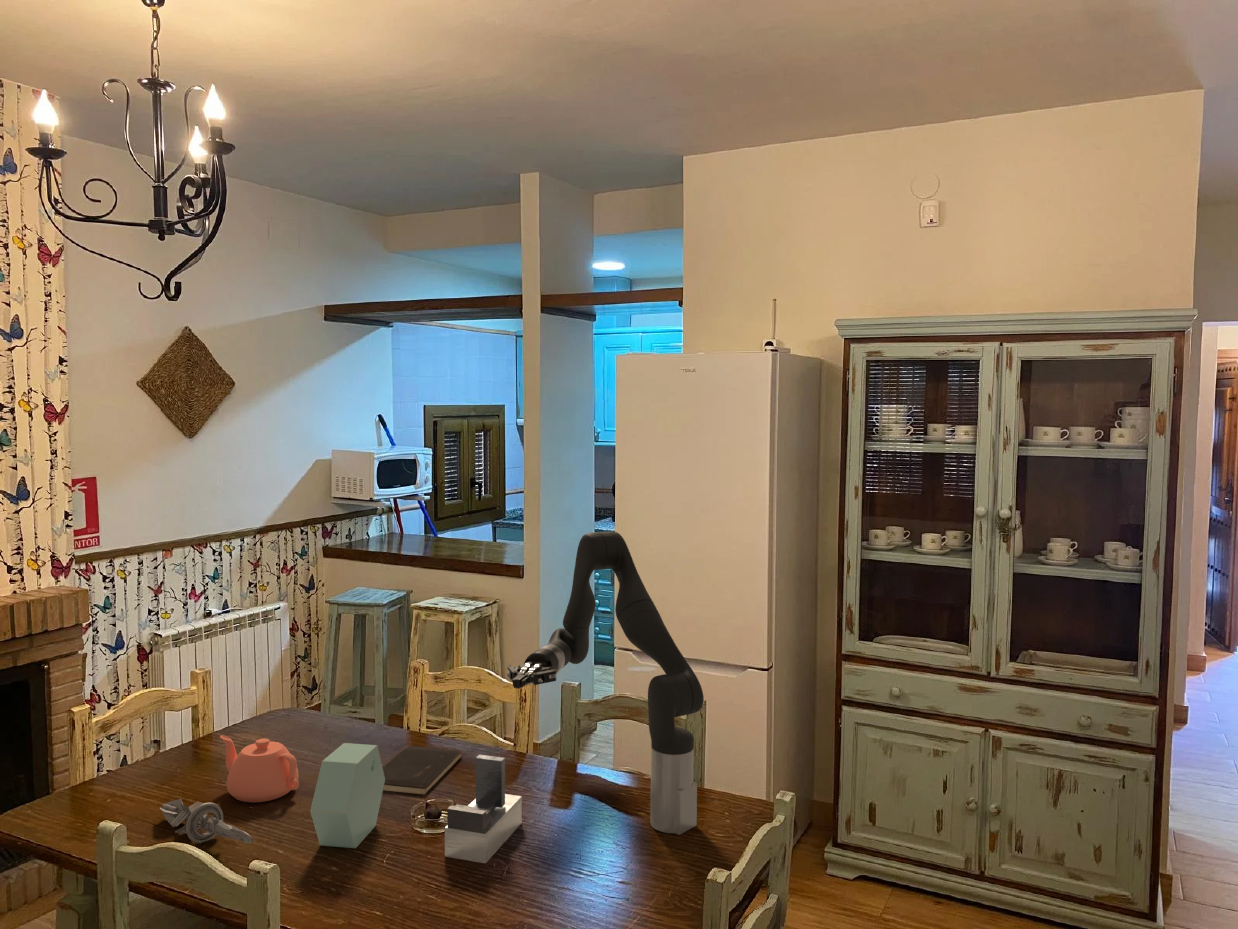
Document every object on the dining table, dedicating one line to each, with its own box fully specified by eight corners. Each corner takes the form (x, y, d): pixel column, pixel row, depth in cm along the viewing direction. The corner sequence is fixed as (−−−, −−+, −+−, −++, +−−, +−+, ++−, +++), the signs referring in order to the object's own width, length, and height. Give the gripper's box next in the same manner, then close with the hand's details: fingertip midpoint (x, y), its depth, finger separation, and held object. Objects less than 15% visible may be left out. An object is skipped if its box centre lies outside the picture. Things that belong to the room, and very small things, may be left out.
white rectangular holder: (483, 817, 197) (483, 773, 196) (521, 823, 194) (521, 778, 194) (444, 856, 180) (444, 808, 179) (485, 863, 177) (485, 814, 177)
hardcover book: (462, 759, 231) (462, 750, 230) (425, 797, 208) (425, 787, 208) (404, 754, 234) (404, 745, 234) (362, 790, 211) (362, 781, 211)
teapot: (197, 798, 205) (195, 745, 205) (246, 772, 220) (245, 722, 219) (275, 813, 198) (274, 758, 197) (320, 785, 213) (319, 734, 212)
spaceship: (226, 838, 170) (260, 809, 176) (138, 807, 191) (171, 781, 197) (244, 870, 173) (277, 840, 179) (155, 836, 194) (187, 810, 200)
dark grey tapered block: (479, 800, 191) (479, 754, 190) (505, 804, 189) (505, 758, 189) (455, 822, 181) (455, 774, 180) (482, 827, 179) (482, 778, 178)
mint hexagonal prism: (336, 850, 191) (357, 751, 201) (370, 853, 190) (390, 753, 200) (302, 840, 176) (327, 733, 186) (339, 843, 175) (363, 736, 185)
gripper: (520, 645, 220) (489, 665, 203) (570, 650, 216) (543, 670, 199) (520, 675, 220) (489, 697, 204) (570, 680, 216) (543, 703, 200)
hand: (516, 684), depth 201 cm, fingers closed
